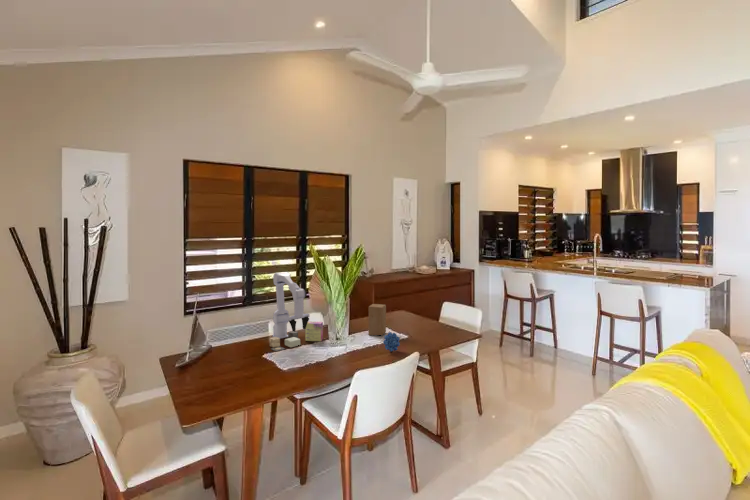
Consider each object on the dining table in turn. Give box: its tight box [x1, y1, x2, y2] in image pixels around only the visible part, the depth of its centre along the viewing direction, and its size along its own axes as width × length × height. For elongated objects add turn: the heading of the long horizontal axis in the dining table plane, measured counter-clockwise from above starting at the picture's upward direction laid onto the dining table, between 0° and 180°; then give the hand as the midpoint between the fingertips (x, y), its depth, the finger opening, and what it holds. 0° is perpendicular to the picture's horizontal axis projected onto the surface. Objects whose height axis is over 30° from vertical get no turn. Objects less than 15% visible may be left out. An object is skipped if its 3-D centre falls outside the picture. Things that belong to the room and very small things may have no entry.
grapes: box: [382, 331, 401, 353], centre depth 223 cm, size 12×7×12 cm, turn 121°
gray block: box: [287, 330, 299, 339], centre depth 248 cm, size 4×4×5 cm
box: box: [304, 320, 324, 342], centre depth 247 cm, size 10×6×12 cm, turn 84°
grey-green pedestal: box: [284, 337, 301, 348], centre depth 237 cm, size 7×7×4 cm
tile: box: [270, 346, 286, 352], centre depth 228 cm, size 6×6×1 cm
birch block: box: [269, 336, 281, 348], centre depth 234 cm, size 4×4×5 cm
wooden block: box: [367, 303, 387, 336], centre depth 262 cm, size 10×10×20 cm
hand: (299, 330), depth 235 cm, fingers open, 7 cm apart
